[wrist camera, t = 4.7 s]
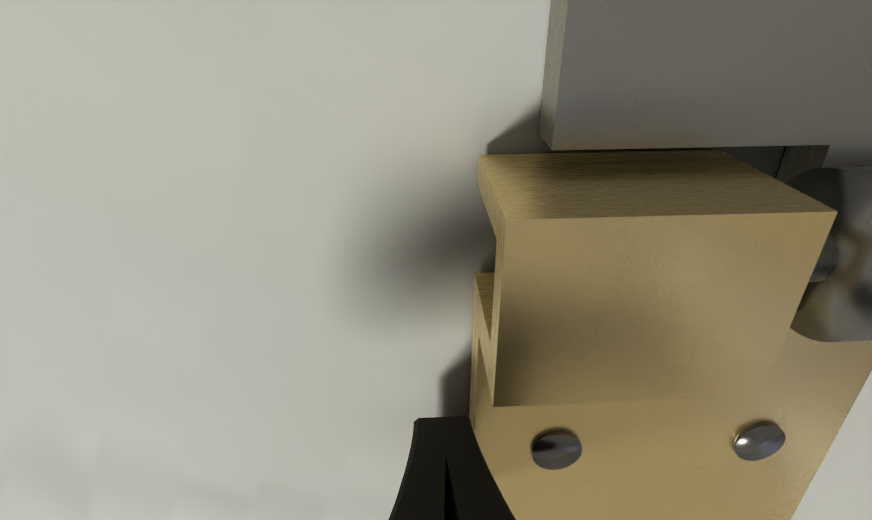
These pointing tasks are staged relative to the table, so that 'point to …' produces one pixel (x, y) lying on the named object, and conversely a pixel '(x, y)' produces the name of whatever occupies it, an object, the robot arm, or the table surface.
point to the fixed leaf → (734, 109)
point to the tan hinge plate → (652, 339)
